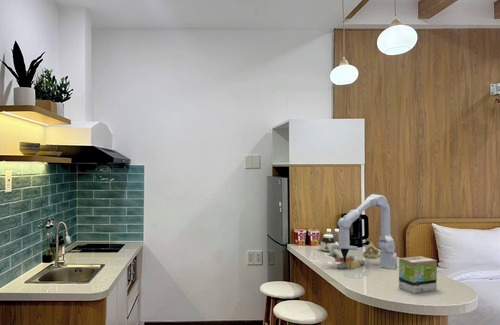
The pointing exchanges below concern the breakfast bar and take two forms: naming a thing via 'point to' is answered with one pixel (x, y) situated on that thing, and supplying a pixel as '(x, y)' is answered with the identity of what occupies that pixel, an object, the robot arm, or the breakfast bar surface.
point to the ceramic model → (371, 251)
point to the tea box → (417, 274)
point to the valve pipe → (351, 264)
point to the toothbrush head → (336, 253)
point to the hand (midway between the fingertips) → (344, 261)
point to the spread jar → (328, 243)
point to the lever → (350, 258)
